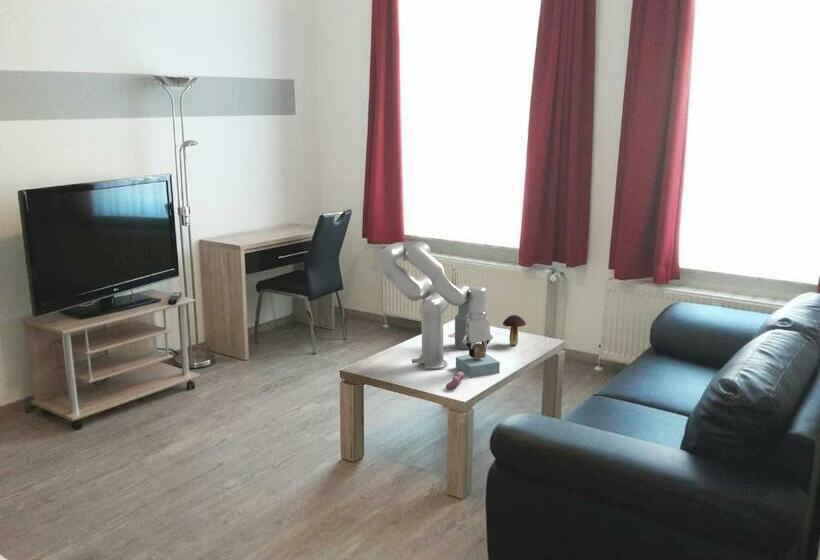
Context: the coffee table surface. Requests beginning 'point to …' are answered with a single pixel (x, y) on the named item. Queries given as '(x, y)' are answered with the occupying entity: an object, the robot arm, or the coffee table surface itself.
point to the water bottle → (461, 325)
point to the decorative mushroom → (514, 327)
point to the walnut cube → (479, 351)
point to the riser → (477, 365)
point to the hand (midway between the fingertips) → (477, 355)
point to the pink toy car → (455, 380)
